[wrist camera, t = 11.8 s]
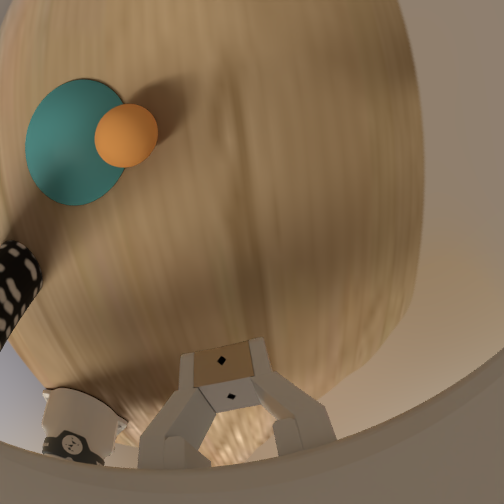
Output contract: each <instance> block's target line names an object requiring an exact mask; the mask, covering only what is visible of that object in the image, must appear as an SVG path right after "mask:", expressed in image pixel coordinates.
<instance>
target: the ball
mask: <svg viewBox="0 0 504 504" xmlns="http://www.w3.org/2000/svg"><path fill="white" fill-rule="evenodd" d="M157 138H158V127H157V123H156V121H155V119H154V117H153V115H152V114H151V113H150V112H149V111H148V110H147V109H145V108H144V107H142V106H139V105H135V104H123V105H119V106H117V107H114V108H113V109H111V110H110V111H108V112H107V113H106V114H105V115H104V116H103V117H102V118H101V120H100V121H99V123H98V125H97V128H96V132H95V146H96V150H97V152H98V154H99V155H100V157H101V158H102V159H103V160H104V161H105V162H106V163H108V164H110V165H112V166H115V167H121V168H126V167H132V166H135V165H137V164H139V163H141V162H142V161H144V160H145V159H146V158H147V157H148V156H149V155H150V154H151V152H152V151H153V149H154V147H155V145H156V142H157Z"/></svg>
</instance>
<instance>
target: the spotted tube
mask: <svg viewBox="0 0 504 504" xmlns="http://www.w3.org/2000/svg"><path fill="white" fill-rule="evenodd" d="M41 287H42V273H41V269H40V267H39V264H38V262H37V260H36V259H35V257H34V256H33V254H32V253H31V252H30V251H29V250H28V248H26V247H25V246H24V245H23V244H21V243H19V242H17V241H6V242H5V243H3V244H2V245H1V246H0V351H1V350H2V348H3V346H4V344H5V343H6V341H7V339H8V338H9V336H10V334H11V333H12V331H13V329H14V328H15V326H16V325H17V323H18V322H19V320H20V319H21V317H22V316H23V314H24V313H25V311H26V310H27V308H28V307H29V305H30V304H31V302H32V301H33V300H34V298H35V297H36V295H37V294H38V293H39V291H40V289H41Z"/></svg>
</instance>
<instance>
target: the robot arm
mask: <svg viewBox="0 0 504 504" xmlns="http://www.w3.org/2000/svg"><path fill="white" fill-rule="evenodd" d="M43 397H44V398H45V400H46V402H47V404H46V408H45V411H44V415H43V419H42V424H41V425H42V427H43V430H44V431H45V433H46V436H47V437H46V438H45V441H44V444H43V450H42V453H43V454H39V453H36V452H32V451H29V450H25V449H22V448H19V447H16V446H13V445H10V444H7V443H5V442H2V441H0V504H504V348H503V349H502V350H500V351H499V352H498V353H497V354H496V355H494V356H493V357H492V358H490V359H489V360H488V361H486V362H485V363H484V364H483V365H481V366H480V367H479V368H477V369H476V370H474V371H473V372H471V373H470V374H469V375H467V376H466V377H464V378H463V379H461V380H460V381H458V382H457V383H455V384H454V385H452V386H450V387H449V388H447V389H446V390H444V391H442V392H441V393H439V394H437V395H436V396H434V397H432V398H430V399H429V400H427V401H425V402H423V403H421V404H419V405H418V406H416V407H414V408H412V409H410V410H408V411H406V412H404V413H402V414H400V415H398V416H396V417H393V418H392V419H389V420H387V421H385V422H383V423H380V424H378V425H376V426H373V427H371V428H368V429H366V430H363V431H361V432H358V433H356V434H353V435H350V436H347V437H345V438H343V439H339V440H337V439H336V436H335V433H334V431H333V428H332V425H331V422H330V419H329V417H328V414H327V411H326V409H325V406H323V405H322V404H321V403H319V402H318V401H316V400H315V399H313V398H312V397H311V396H309V395H308V394H306V393H305V392H303V391H302V390H301V389H299V388H298V387H297V386H295V385H294V384H292V383H291V382H290V381H288V380H287V379H286V378H284V377H283V376H282V375H280V374H279V373H278V372H276V371H274V372H273V370H272V366H271V363H270V359H269V356H268V352H267V349H266V345H265V342H264V338H263V337H259V338H255V339H251V340H247V341H243V342H239V343H235V344H231V345H226V346H222V347H218V348H213V349H208V350H202V351H196V352H192V353H186V354H182V355H181V358H180V371H179V389H178V391H174V393H173V394H172V395H171V397H170V398H169V399H168V401H167V402H166V403H165V405H164V406H163V407H162V409H161V410H160V411H159V413H158V414H157V415H156V417H155V418H154V419H153V420H152V422H151V423H150V424H149V426H148V427H147V428H146V430H145V431H144V432H143V434H142V435H141V436H140V443H139V454H138V468H137V469H134V468H119V467H108V466H104V463H105V462H104V459H105V457H107V456H110V455H111V454H112V453H113V452H114V450H115V440H116V436H117V435H118V434H119V433H120V432H121V431H122V430H124V429H125V428H126V427H127V423H128V422H127V421H126V420H124V419H123V418H121V417H119V416H118V415H116V414H115V412H114V411H113V410H112V409H111V408H109V407H108V406H107V405H105V404H104V403H102V402H101V401H99V400H97V399H96V398H94V397H92V396H89V395H87V394H85V393H82V392H79V391H76V390H72V389H67V388H58V389H55V390H43ZM255 405H262V406H263V407H264V408H265V409H266V410H267V411H268V412H269V413H270V414H272V415H273V416H274V417H275V418H276V419H277V421H275V423H274V424H273V430H274V435H275V440H276V445H277V450H278V455H279V456H278V457H274V458H269V459H264V460H259V461H253V462H247V463H240V464H233V465H225V466H217V467H211V461H210V460H208V459H207V458H206V457H205V456H203V455H202V454H201V453H200V452H199V451H198V449H199V447H200V445H201V443H202V441H203V439H204V437H205V435H206V434H207V432H208V430H209V428H210V426H211V424H212V422H213V420H214V418H215V416H216V413H219V412H224V411H229V410H234V409H239V408H245V407H250V406H255Z"/></svg>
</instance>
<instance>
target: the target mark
mask: <svg viewBox="0 0 504 504" xmlns="http://www.w3.org/2000/svg"><path fill="white" fill-rule="evenodd" d="M119 105H123V103H122V101H121V99H120V98H119V97H118V96H117V94H116V93H115V92H114V91H113V90H111V89H110V88H109V87H107V86H106V85H104V84H102V83H99V82H97V81H92V80H74V81H71V82H67V83H65V84H63V85H61V86H59V87H57V88H56V89H54V90H53V91H52V92H50V93H49V94H48V95H47V96H46V97H45V98H44V99H43V100H42V102H41V103H40V104H39V106H38V107H37V109H36V110H35V112H34V114H33V116H32V118H31V121H30V124H29V127H28V130H27V135H26V143H25V152H26V160H27V165H28V168H29V171H30V174H31V176H32V178H33V180H34V182H35V183H36V185H37V186H38V187H39V189H40V190H41V191H42V192H43V193H44V194H45V195H46V196H48V197H49V198H51V199H52V200H54V201H56V202H59V203H61V204H65V205H83V204H87V203H90V202H92V201H95V200H96V199H98V198H100V197H101V196H103V195H104V194H105V193H106V192H108V191H109V190H110V189H111V188H112V187H113V186H114V184H115V183H116V182H117V180H118V179H119V177H120V176H121V174H122V172H123V170H124V168H121V167H115V166H112V165H110V164H108V163H106V162H105V161H104V160H103V159H102V158H101V157H100V155H99V154H98V152H97V150H96V146H95V132H96V128H97V125H98V123H99V121H100V120H101V118H102V117H103V116H104V115H105V114H106V113H107V112H108V111H110V110H111V109H113V108H114V107H117V106H119Z"/></svg>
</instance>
